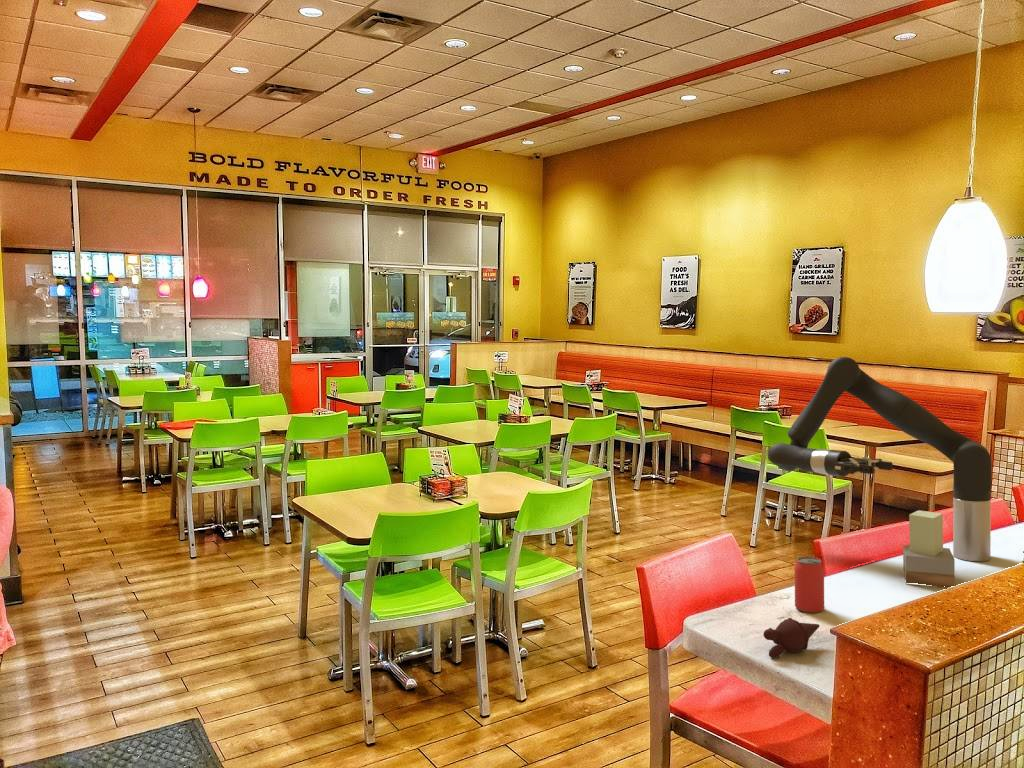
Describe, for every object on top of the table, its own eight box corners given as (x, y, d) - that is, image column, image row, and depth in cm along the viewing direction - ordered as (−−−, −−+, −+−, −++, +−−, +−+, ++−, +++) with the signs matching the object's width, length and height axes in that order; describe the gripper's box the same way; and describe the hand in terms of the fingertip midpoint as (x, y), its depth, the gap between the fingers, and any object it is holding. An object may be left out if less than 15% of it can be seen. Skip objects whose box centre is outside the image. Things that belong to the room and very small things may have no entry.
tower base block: (903, 573, 208) (903, 559, 208) (949, 577, 203) (949, 562, 203) (905, 585, 198) (905, 570, 198) (954, 590, 193) (954, 574, 193)
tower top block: (903, 559, 207) (903, 545, 207) (949, 563, 203) (949, 548, 203) (905, 570, 197) (905, 555, 197) (954, 575, 193) (954, 559, 193)
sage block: (918, 546, 205) (918, 510, 204) (943, 550, 200) (942, 513, 199) (909, 551, 201) (909, 514, 200) (934, 556, 196) (933, 518, 195)
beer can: (819, 616, 177) (819, 565, 177) (791, 610, 181) (790, 561, 181) (827, 607, 182) (827, 558, 182) (799, 602, 186) (799, 554, 186)
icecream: (801, 607, 165) (749, 627, 159) (827, 609, 159) (775, 629, 152) (809, 640, 164) (758, 660, 158) (836, 643, 158) (784, 664, 151)
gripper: (815, 452, 219) (867, 457, 206) (845, 447, 227) (897, 451, 213) (816, 478, 220) (868, 485, 206) (846, 471, 227) (898, 478, 213)
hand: (882, 468), depth 210 cm, fingers open, 8 cm apart
